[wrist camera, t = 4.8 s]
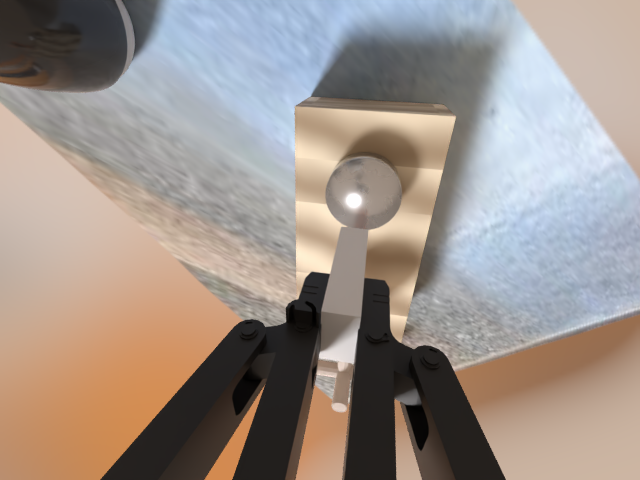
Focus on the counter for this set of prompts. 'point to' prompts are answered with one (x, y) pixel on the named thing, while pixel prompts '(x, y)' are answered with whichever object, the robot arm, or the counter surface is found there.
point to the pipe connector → (338, 381)
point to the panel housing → (415, 175)
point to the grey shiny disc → (364, 191)
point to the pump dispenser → (64, 44)
